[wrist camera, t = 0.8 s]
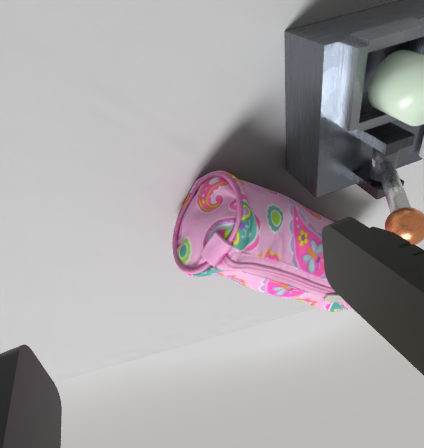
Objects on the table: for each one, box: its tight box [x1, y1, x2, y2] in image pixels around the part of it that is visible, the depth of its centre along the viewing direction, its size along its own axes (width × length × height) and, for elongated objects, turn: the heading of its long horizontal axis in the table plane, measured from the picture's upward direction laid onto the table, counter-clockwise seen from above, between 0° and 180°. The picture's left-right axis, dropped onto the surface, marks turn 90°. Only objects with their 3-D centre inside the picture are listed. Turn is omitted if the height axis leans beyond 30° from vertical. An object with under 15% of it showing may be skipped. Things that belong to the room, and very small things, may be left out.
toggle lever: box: [369, 148, 424, 245], centre depth 25 cm, size 3×2×10 cm
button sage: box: [368, 50, 424, 126], centre depth 23 cm, size 4×4×3 cm
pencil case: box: [173, 171, 352, 312], centre depth 34 cm, size 21×9×9 cm, turn 53°
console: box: [285, 0, 424, 199], centre depth 29 cm, size 12×17×8 cm
